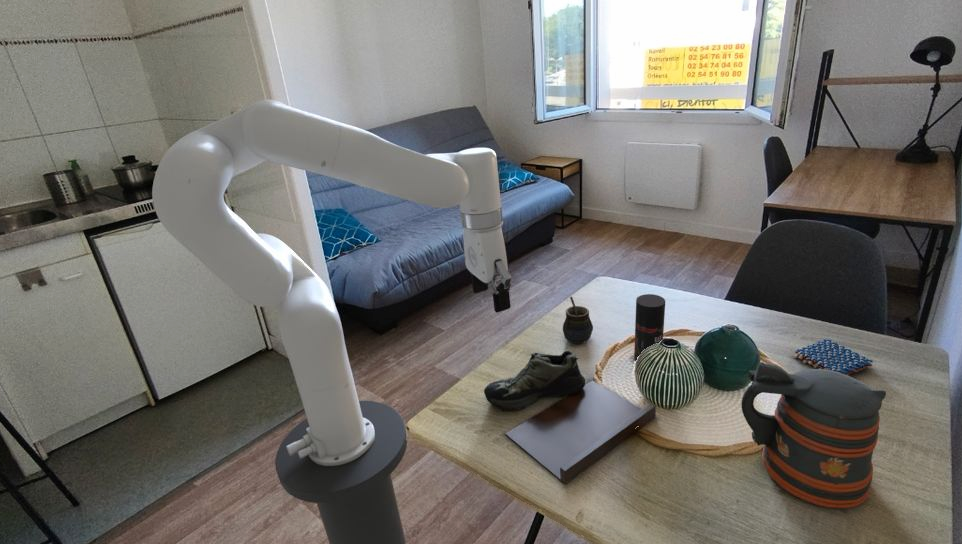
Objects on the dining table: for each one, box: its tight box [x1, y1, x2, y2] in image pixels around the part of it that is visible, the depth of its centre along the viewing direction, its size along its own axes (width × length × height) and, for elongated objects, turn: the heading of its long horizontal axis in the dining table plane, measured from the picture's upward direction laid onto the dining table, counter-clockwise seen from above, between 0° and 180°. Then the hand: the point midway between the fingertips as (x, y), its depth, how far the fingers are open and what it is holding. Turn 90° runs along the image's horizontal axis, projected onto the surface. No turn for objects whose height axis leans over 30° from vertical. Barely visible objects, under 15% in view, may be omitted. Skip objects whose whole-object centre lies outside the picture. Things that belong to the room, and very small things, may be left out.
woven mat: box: [793, 338, 874, 376], centre depth 106 cm, size 10×11×2 cm
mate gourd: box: [562, 296, 594, 345], centre depth 122 cm, size 7×8×10 cm
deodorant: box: [633, 293, 666, 362], centre depth 110 cm, size 6×6×15 cm
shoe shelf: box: [505, 380, 657, 486], centre depth 95 cm, size 24×16×3 cm, turn 127°
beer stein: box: [741, 361, 887, 510], centre depth 78 cm, size 19×15×20 cm
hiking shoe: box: [483, 350, 586, 411], centre depth 104 cm, size 8×21×9 cm, turn 104°
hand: (491, 300), depth 99 cm, fingers open, 9 cm apart
